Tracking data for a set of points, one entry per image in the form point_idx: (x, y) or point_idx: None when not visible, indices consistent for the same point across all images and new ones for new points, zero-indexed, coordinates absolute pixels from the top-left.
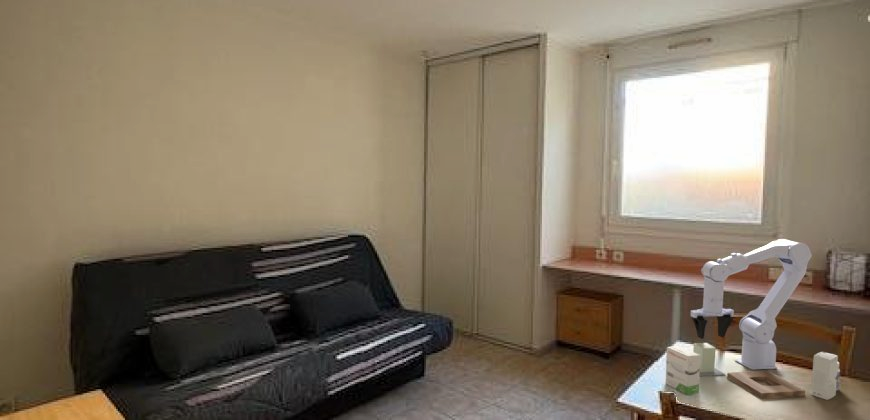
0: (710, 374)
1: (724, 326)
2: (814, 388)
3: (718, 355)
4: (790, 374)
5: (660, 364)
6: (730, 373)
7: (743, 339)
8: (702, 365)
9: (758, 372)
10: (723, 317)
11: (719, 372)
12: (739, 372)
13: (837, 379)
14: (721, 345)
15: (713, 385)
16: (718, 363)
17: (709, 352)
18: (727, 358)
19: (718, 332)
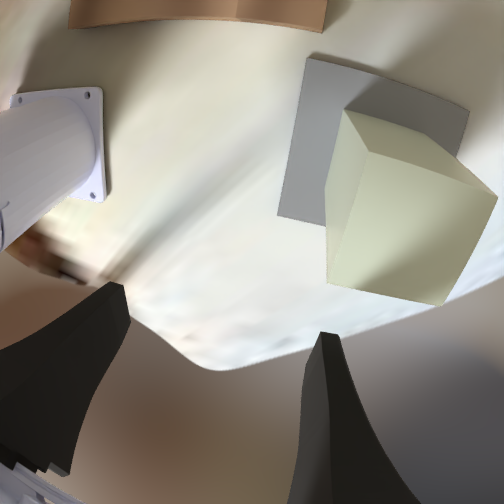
0: (400, 90)
1: (57, 361)
2: None
3: (140, 262)
4: (10, 44)
5: (481, 283)
6: (312, 14)
7: (7, 227)
8: (436, 143)
9: (123, 4)
10: (22, 450)
11: (321, 87)
12: (235, 12)
13: None
14: None
15: (478, 12)
16: (204, 197)
17: (422, 157)
18: (122, 227)
19: (119, 341)
